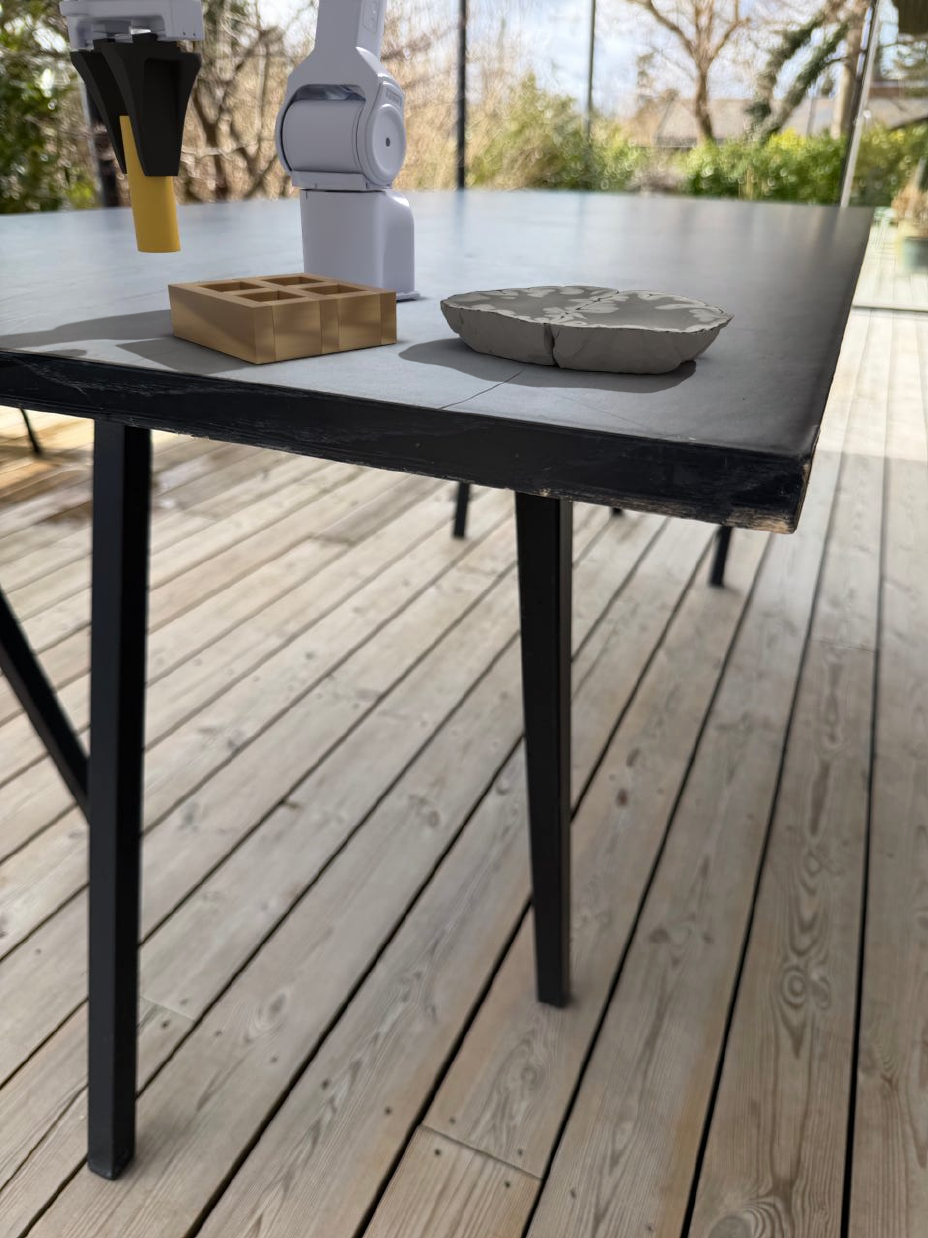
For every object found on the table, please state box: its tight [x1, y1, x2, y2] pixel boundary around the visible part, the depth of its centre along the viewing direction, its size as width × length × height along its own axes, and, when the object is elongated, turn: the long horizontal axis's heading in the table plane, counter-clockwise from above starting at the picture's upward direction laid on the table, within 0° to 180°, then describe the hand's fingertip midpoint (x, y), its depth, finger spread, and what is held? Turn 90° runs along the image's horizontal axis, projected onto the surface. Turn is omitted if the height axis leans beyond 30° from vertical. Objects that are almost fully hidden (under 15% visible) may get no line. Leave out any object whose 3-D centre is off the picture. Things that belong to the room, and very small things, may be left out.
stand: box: [167, 272, 398, 365], centre depth 64 cm, size 11×11×4 cm
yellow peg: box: [120, 116, 181, 254], centre depth 60 cm, size 3×3×8 cm
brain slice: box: [439, 285, 735, 375], centre depth 64 cm, size 20×17×3 cm
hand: (149, 175), depth 60 cm, fingers closed on yellow peg, 3 cm apart
